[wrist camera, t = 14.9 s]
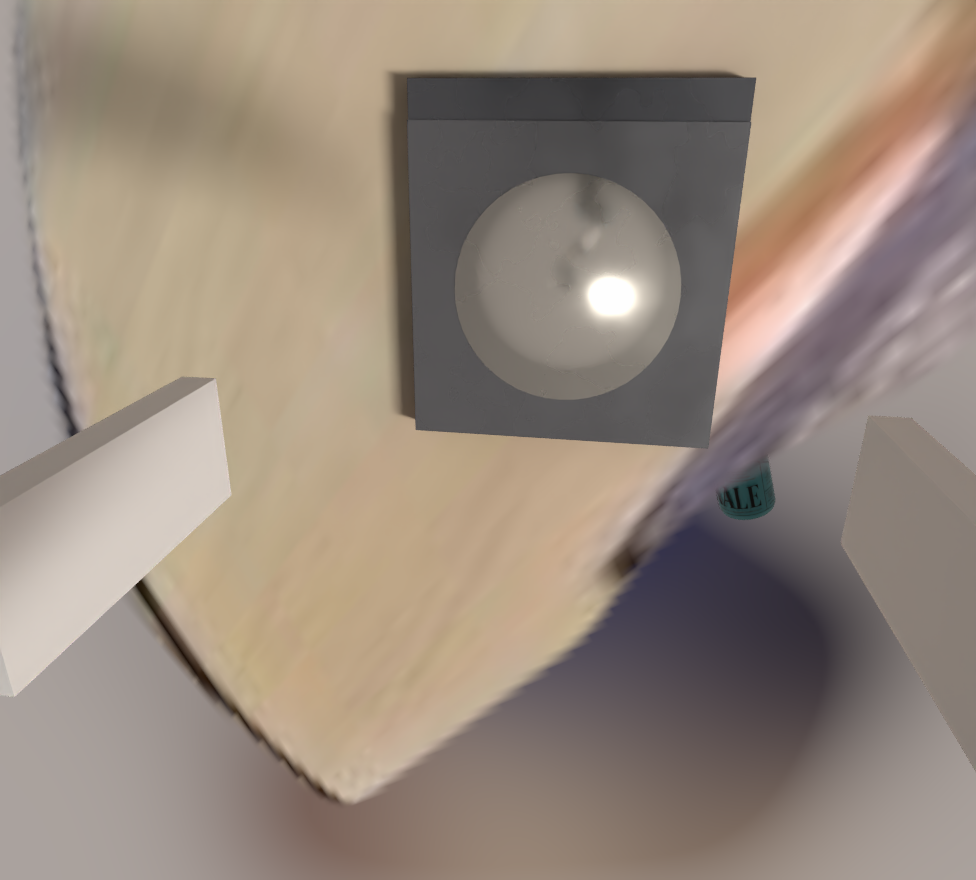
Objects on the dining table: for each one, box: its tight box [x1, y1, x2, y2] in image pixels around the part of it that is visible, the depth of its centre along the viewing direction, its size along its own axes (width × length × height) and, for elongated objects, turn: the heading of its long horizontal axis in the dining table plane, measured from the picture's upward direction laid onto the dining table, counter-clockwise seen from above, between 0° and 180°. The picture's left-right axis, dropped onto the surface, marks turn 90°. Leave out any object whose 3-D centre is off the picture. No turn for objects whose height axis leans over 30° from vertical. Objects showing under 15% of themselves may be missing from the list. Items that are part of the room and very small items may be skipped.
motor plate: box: [407, 78, 756, 448], centre depth 33 cm, size 16×14×1 cm
